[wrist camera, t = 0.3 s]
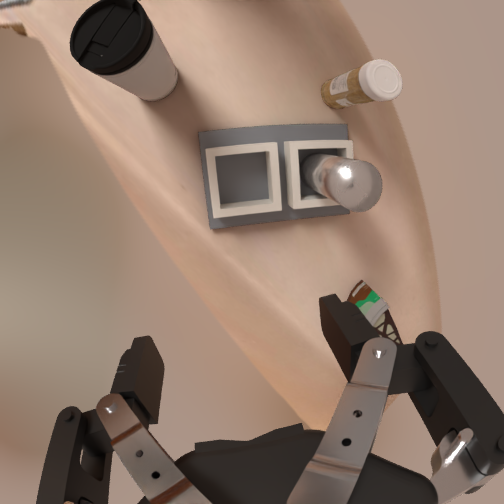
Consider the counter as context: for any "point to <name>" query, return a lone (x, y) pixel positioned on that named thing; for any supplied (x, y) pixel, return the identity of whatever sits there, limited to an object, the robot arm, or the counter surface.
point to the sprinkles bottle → (363, 85)
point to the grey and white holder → (267, 172)
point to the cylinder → (342, 180)
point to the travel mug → (124, 49)
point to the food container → (375, 311)
